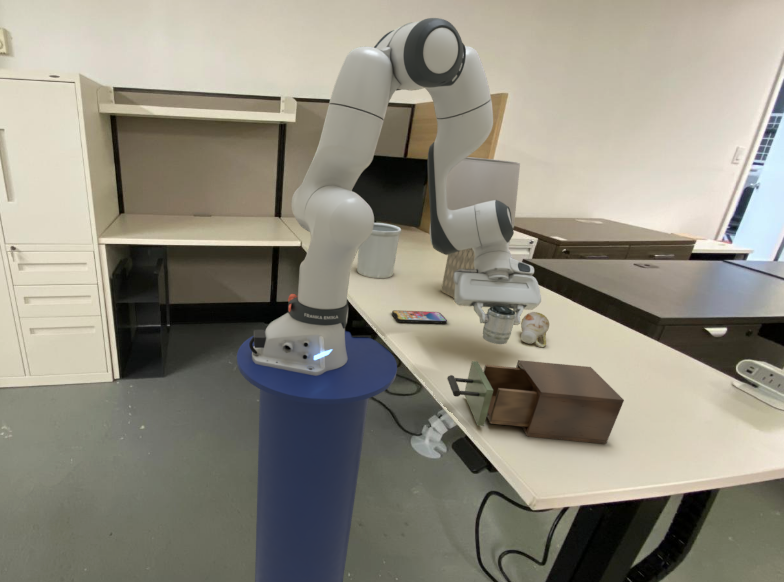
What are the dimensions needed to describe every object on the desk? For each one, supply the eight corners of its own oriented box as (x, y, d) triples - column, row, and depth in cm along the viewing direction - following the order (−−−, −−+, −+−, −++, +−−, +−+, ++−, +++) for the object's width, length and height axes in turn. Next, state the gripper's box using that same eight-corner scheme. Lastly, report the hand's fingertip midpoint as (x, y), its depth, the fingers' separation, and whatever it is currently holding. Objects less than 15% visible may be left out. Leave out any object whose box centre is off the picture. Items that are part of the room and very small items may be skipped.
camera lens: (500, 334, 114) (509, 304, 111) (513, 345, 109) (522, 314, 105) (476, 333, 113) (484, 303, 110) (488, 344, 108) (496, 313, 105)
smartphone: (448, 321, 134) (398, 319, 132) (447, 324, 135) (397, 322, 132) (439, 311, 141) (391, 310, 139) (438, 314, 141) (391, 313, 139)
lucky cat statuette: (512, 343, 126) (517, 307, 127) (521, 349, 134) (526, 315, 135) (541, 345, 122) (546, 308, 123) (549, 351, 129) (554, 316, 130)
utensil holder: (387, 281, 168) (394, 233, 161) (349, 273, 174) (354, 226, 166) (399, 272, 180) (406, 226, 173) (363, 265, 186) (368, 220, 178)
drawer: (451, 423, 87) (459, 387, 84) (440, 391, 97) (447, 358, 94) (550, 432, 86) (562, 397, 83) (528, 400, 97) (539, 367, 94)
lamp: (407, 284, 166) (428, 154, 148) (463, 281, 176) (489, 158, 158) (450, 310, 146) (481, 162, 127) (511, 304, 155) (548, 165, 137)
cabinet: (526, 436, 86) (541, 392, 82) (506, 400, 98) (517, 359, 94) (606, 444, 86) (624, 400, 82) (576, 407, 98) (590, 366, 93)
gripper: (457, 261, 110) (462, 315, 105) (540, 267, 111) (548, 320, 107) (448, 274, 115) (452, 325, 111) (526, 279, 117) (534, 330, 113)
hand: (500, 323), depth 109 cm, fingers closed on camera lens, 6 cm apart
